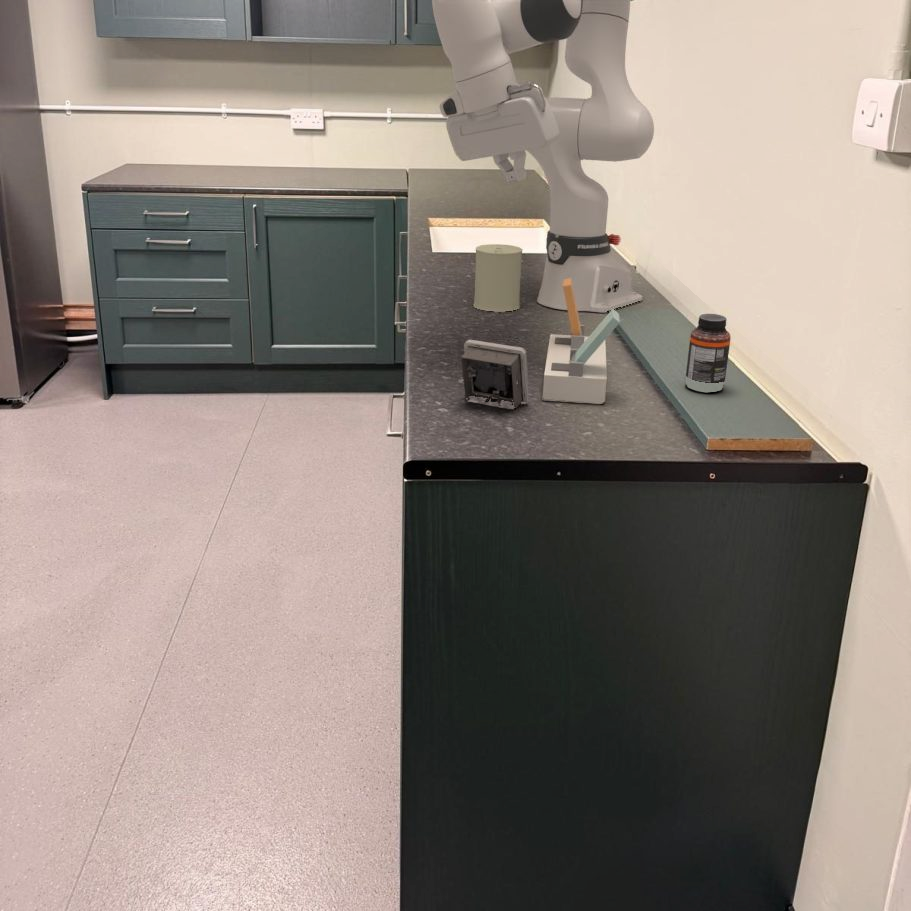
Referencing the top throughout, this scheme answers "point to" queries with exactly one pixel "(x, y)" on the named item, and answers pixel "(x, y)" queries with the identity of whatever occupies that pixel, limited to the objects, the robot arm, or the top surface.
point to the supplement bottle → (708, 350)
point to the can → (497, 277)
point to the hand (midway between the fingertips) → (517, 180)
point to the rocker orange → (572, 307)
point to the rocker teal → (597, 337)
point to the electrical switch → (495, 371)
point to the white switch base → (574, 371)
